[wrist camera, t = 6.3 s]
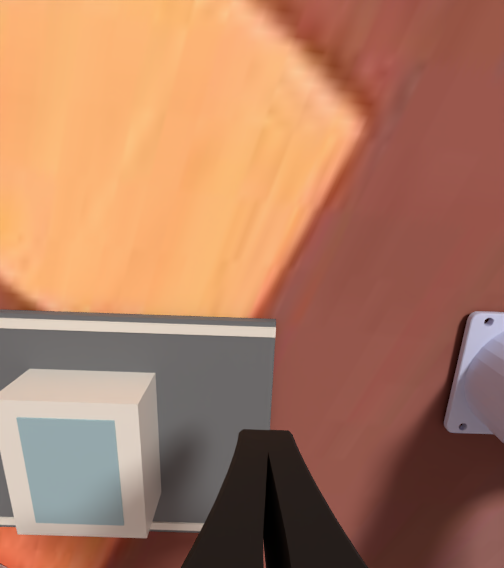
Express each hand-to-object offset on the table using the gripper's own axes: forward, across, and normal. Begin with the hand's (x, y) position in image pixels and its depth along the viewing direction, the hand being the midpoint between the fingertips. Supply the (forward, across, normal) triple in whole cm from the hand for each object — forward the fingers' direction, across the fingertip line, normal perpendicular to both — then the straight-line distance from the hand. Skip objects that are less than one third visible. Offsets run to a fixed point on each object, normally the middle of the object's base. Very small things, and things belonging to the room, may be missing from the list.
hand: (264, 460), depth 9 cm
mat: (+10, +9, +8) cm, 16 cm away
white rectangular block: (+8, +6, +8) cm, 13 cm away
